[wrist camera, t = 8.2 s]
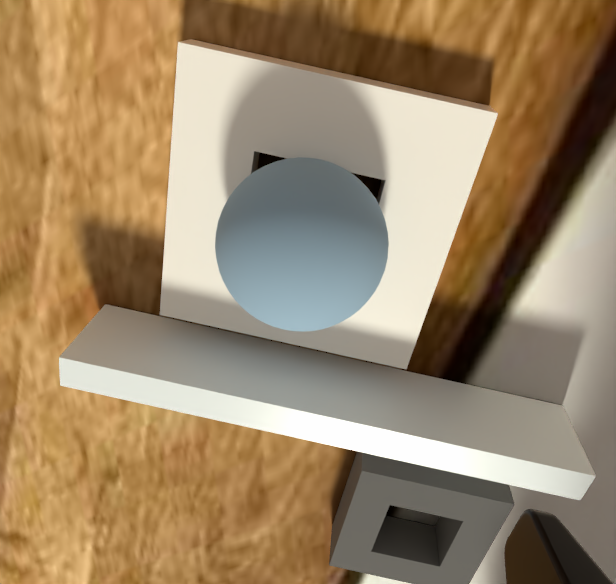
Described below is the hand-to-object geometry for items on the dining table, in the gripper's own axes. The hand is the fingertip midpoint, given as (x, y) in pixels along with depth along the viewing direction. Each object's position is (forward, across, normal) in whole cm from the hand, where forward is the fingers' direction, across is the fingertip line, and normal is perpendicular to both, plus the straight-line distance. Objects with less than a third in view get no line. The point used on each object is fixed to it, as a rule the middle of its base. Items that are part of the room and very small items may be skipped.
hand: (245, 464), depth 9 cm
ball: (+8, 0, 0) cm, 8 cm away
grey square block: (+11, -7, +12) cm, 17 cm away
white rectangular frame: (+11, 0, 0) cm, 11 cm away
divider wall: (+11, -2, +6) cm, 12 cm away
